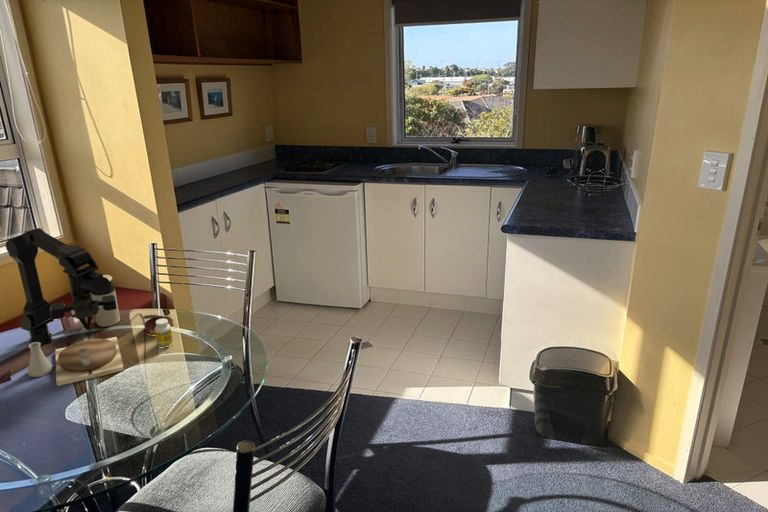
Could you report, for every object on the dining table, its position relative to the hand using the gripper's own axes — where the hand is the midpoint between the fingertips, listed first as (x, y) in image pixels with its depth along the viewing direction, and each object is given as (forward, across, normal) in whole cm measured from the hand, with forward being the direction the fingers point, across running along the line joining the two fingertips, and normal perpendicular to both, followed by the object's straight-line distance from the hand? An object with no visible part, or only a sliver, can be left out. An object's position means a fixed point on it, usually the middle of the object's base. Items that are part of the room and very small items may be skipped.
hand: (87, 329), depth 181 cm
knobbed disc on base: (+10, -1, -1) cm, 10 cm away
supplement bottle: (+11, +23, 0) cm, 25 cm away
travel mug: (+12, +6, +25) cm, 29 cm away
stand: (+12, -1, -1) cm, 12 cm away
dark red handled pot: (+12, +22, +12) cm, 28 cm away
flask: (+12, -15, -1) cm, 19 cm away
